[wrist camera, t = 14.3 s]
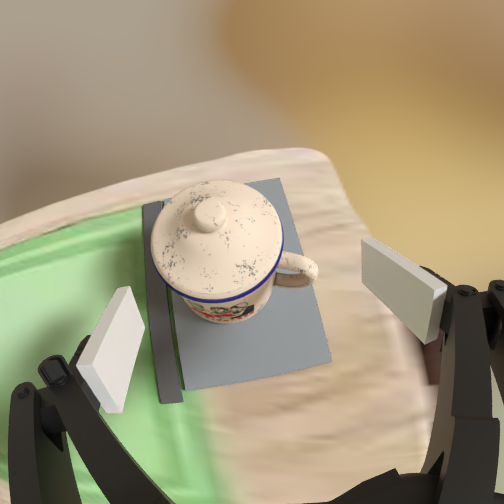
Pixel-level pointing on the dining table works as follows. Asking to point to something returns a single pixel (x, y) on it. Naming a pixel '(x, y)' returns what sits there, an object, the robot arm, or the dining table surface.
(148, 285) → the black line strip
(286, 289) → the slate mat
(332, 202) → the dining table surface
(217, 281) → the teacup with lid
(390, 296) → the robot arm
